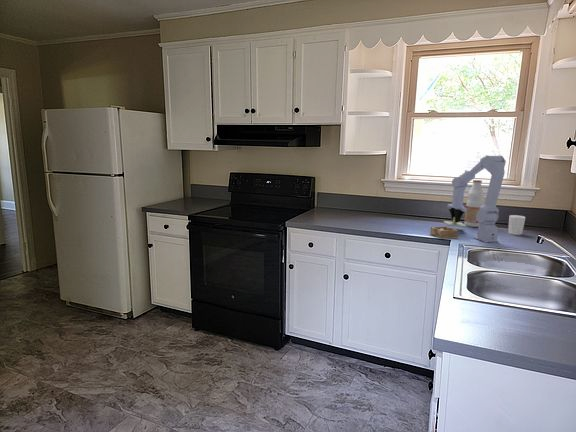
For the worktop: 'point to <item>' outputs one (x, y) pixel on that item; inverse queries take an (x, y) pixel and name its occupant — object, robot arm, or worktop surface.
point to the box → (444, 232)
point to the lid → (454, 223)
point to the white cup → (516, 224)
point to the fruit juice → (474, 203)
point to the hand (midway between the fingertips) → (455, 221)
